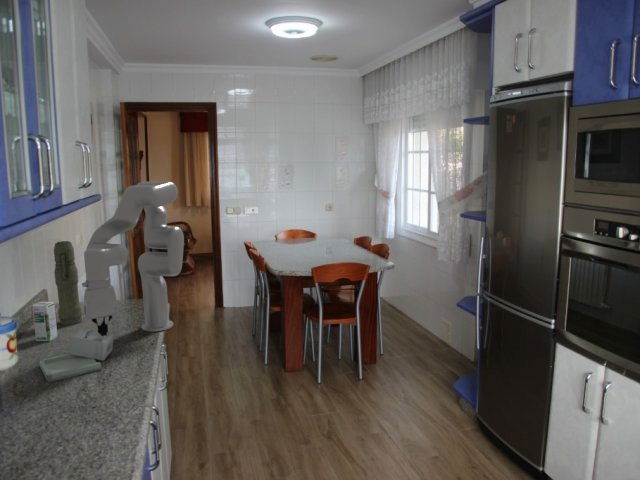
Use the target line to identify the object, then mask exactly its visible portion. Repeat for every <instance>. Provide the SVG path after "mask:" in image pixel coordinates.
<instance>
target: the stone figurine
mask: <svg viewBox="0 0 640 480" xmlns="http://www.w3.org/2000/svg"><path fill="white" fill-rule="evenodd" d="M53 247H54V248H53V255H54V256H53V257H54V262H55V264H54V273H53V274H54V281H55V282H54V283H55V285H56V289H57V297H58V298H57V299H58V312H57V313H58V319H59V324H60V325H61V326H65V325H66V326H74V325H77V324H81V323H82V322H83V319H82V316H83V314H82V307H81V305H80V296H79V286H78V283H79V275H78V274H79V273H78V268H77V266H76V262H75V259H76V258H75V250H74V246H73V244H72V242H71V241H69V240H64V241H57V242H55V244H54V246H53ZM81 321H82V322H81Z"/></svg>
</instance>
